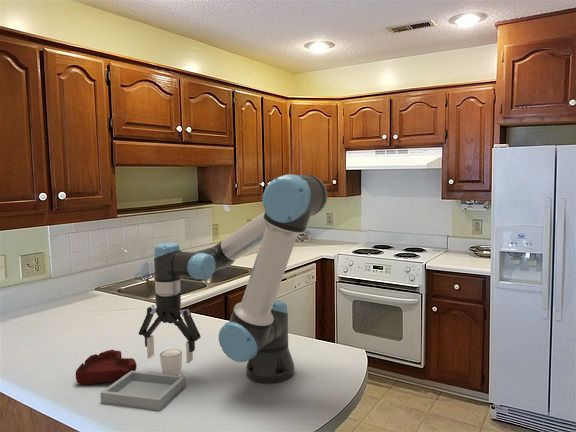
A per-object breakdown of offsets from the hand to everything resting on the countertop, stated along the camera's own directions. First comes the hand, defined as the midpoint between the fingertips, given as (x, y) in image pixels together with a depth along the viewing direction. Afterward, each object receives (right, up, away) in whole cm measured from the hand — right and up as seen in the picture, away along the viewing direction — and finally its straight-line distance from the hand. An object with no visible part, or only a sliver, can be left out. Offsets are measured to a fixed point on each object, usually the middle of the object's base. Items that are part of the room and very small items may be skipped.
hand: (170, 359), depth 142 cm
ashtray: (-21, -6, 0) cm, 22 cm away
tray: (-4, -6, -12) cm, 14 cm away
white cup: (+1, -5, 0) cm, 5 cm away
